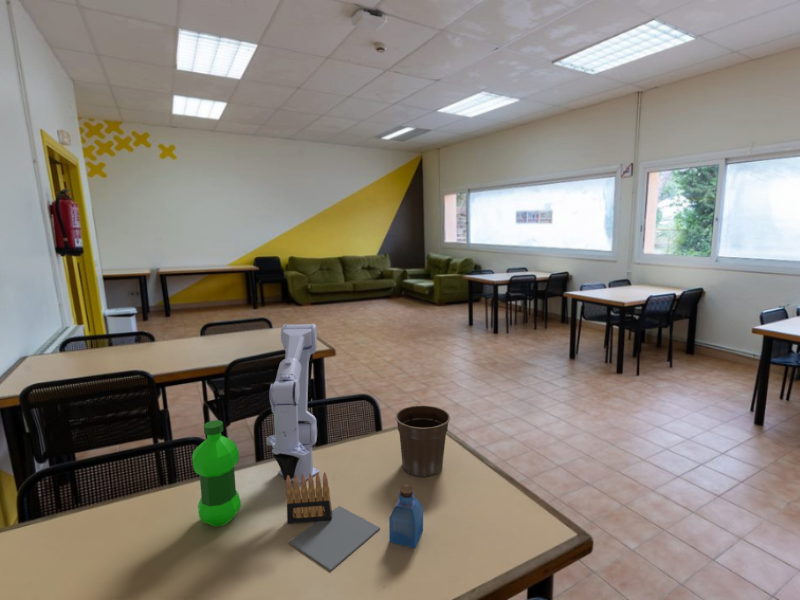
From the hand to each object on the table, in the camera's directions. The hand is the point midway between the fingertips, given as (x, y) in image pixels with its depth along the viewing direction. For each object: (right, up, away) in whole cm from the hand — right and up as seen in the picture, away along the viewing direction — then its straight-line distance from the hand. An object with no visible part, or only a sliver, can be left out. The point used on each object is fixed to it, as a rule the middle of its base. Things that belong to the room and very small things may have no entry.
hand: (288, 478), depth 108 cm
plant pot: (+35, -5, +21) cm, 41 cm away
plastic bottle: (-16, -9, -3) cm, 19 cm away
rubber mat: (+13, -10, -8) cm, 18 cm away
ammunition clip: (+6, -9, -3) cm, 11 cm away
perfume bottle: (+30, -10, -8) cm, 32 cm away
